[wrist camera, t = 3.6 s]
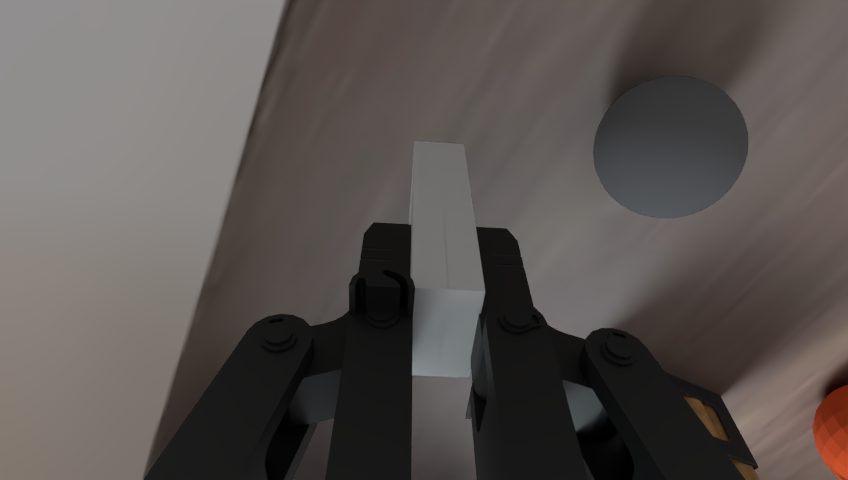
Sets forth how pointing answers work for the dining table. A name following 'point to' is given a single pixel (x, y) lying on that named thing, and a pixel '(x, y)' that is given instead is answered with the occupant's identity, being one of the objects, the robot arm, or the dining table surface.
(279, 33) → the dining table surface
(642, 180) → the dark grey sphere
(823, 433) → the clementine
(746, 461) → the ammunition clip
